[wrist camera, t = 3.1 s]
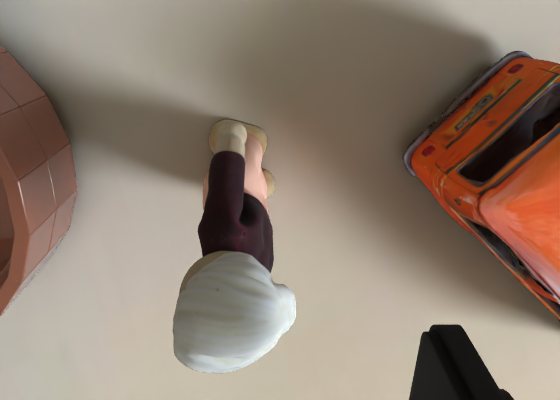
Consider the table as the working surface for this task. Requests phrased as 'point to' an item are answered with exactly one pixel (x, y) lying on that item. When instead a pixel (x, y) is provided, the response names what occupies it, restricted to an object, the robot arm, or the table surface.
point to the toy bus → (503, 168)
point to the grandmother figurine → (233, 262)
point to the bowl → (30, 179)
